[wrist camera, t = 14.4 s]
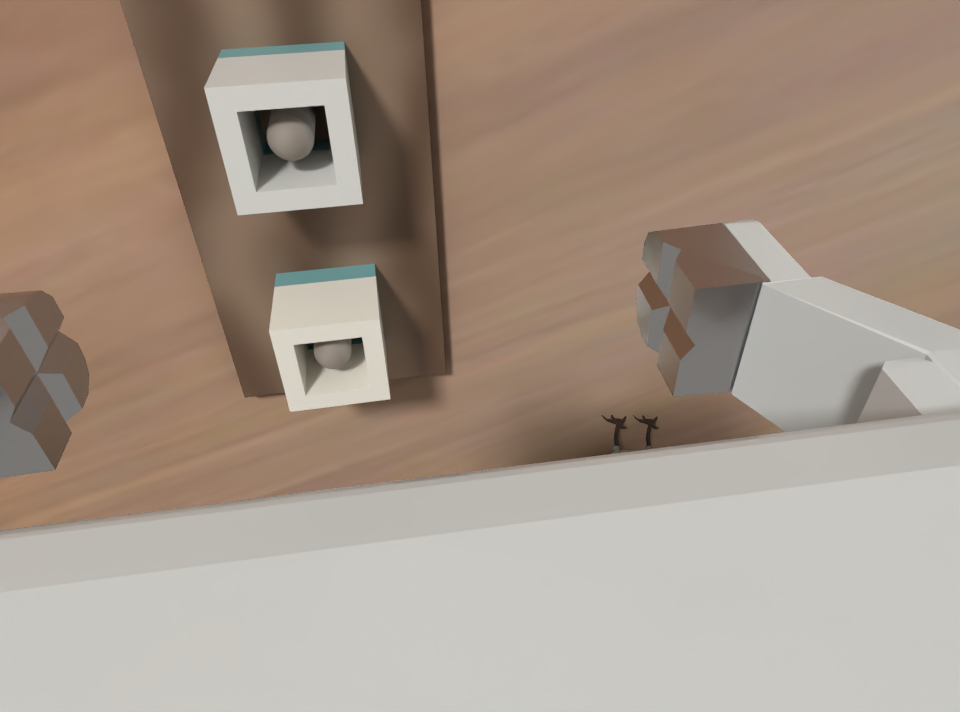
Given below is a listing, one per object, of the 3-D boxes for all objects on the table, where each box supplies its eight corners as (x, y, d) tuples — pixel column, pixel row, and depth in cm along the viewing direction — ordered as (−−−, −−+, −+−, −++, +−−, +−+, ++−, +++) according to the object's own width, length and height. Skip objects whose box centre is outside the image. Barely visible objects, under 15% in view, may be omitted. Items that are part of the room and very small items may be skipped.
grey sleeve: (344, 41, 35) (345, 77, 30) (359, 155, 39) (363, 203, 34) (221, 49, 34) (204, 87, 30) (249, 165, 38) (237, 215, 33)
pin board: (415, -46, 34) (430, -20, 29) (443, 362, 50) (456, 426, 45) (118, -31, 32) (77, 0, 27) (246, 386, 49) (236, 455, 44)
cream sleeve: (374, 263, 43) (379, 319, 38) (384, 340, 47) (390, 399, 42) (276, 273, 42) (268, 331, 38) (294, 350, 46) (290, 411, 41)
